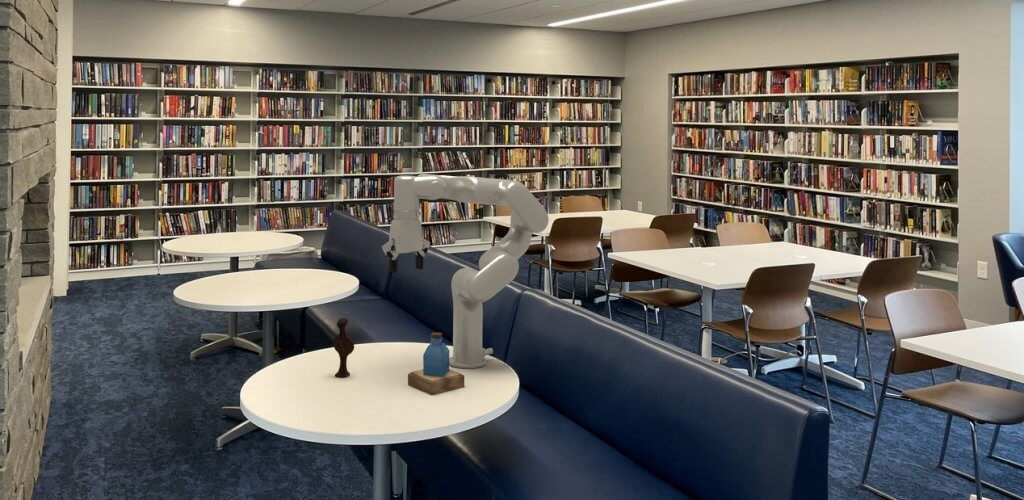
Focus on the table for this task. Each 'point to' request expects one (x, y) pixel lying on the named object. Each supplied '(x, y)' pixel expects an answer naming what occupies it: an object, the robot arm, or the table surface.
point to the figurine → (343, 348)
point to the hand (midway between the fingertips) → (406, 270)
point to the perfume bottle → (436, 357)
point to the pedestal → (435, 381)
